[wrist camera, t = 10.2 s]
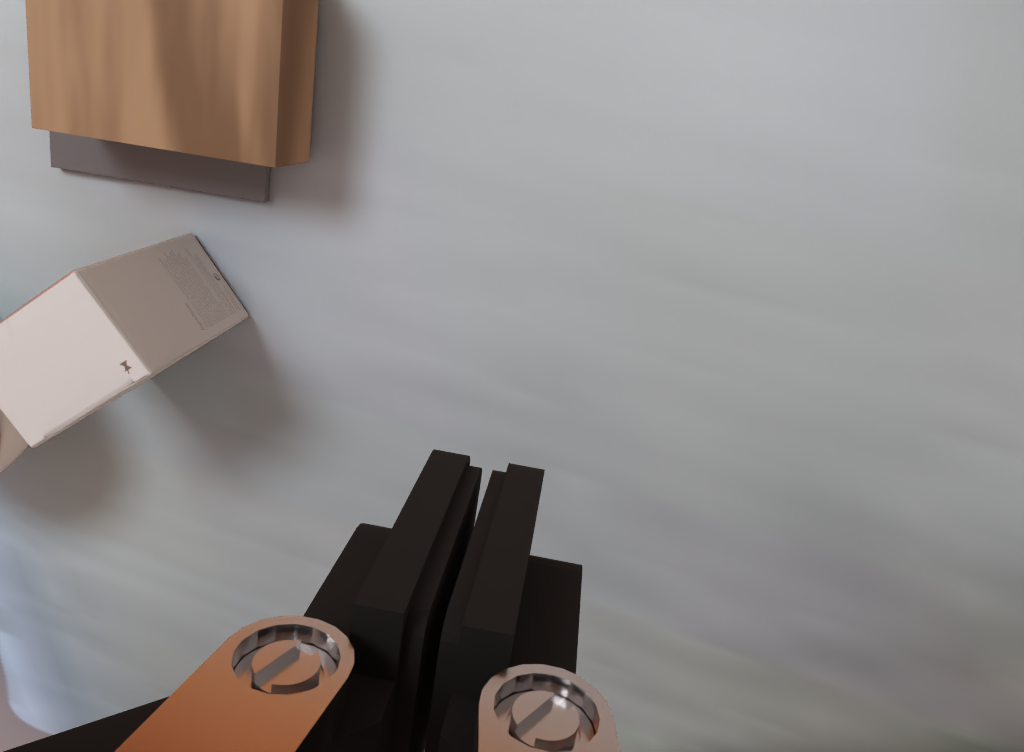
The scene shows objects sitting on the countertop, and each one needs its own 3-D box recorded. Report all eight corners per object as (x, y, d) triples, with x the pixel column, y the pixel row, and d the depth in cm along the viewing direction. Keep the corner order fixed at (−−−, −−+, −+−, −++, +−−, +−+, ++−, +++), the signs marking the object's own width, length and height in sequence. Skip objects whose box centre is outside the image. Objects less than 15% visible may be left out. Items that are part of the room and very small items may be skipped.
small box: (194, 230, 45) (75, 265, 35) (253, 316, 46) (154, 374, 36) (90, 299, 47) (-51, 352, 37) (149, 380, 48) (28, 452, 38)
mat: (281, -91, 39) (276, -94, 38) (268, 200, 44) (264, 202, 43) (46, -124, 40) (38, -128, 39) (58, 165, 44) (51, 166, 44)
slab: (285, -46, 35) (21, -85, 35) (275, 167, 38) (31, 128, 38) (321, -29, 39) (86, -63, 40) (310, 161, 42) (91, 125, 43)
